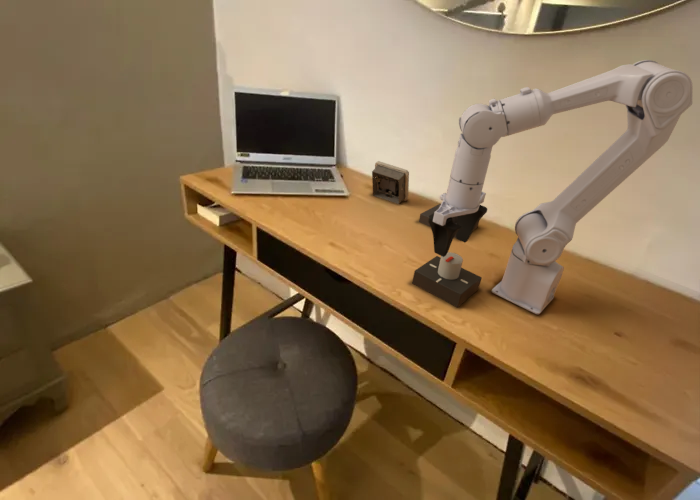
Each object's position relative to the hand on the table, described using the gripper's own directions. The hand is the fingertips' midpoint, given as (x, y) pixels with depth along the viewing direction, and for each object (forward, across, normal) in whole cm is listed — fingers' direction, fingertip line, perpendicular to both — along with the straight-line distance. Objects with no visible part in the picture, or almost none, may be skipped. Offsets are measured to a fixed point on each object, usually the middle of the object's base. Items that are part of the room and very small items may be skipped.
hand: (450, 246), depth 87 cm
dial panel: (+8, 0, +1) cm, 8 cm away
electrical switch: (+8, -22, -30) cm, 38 cm away
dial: (+5, 0, +1) cm, 5 cm away
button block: (+8, -22, -12) cm, 27 cm away
